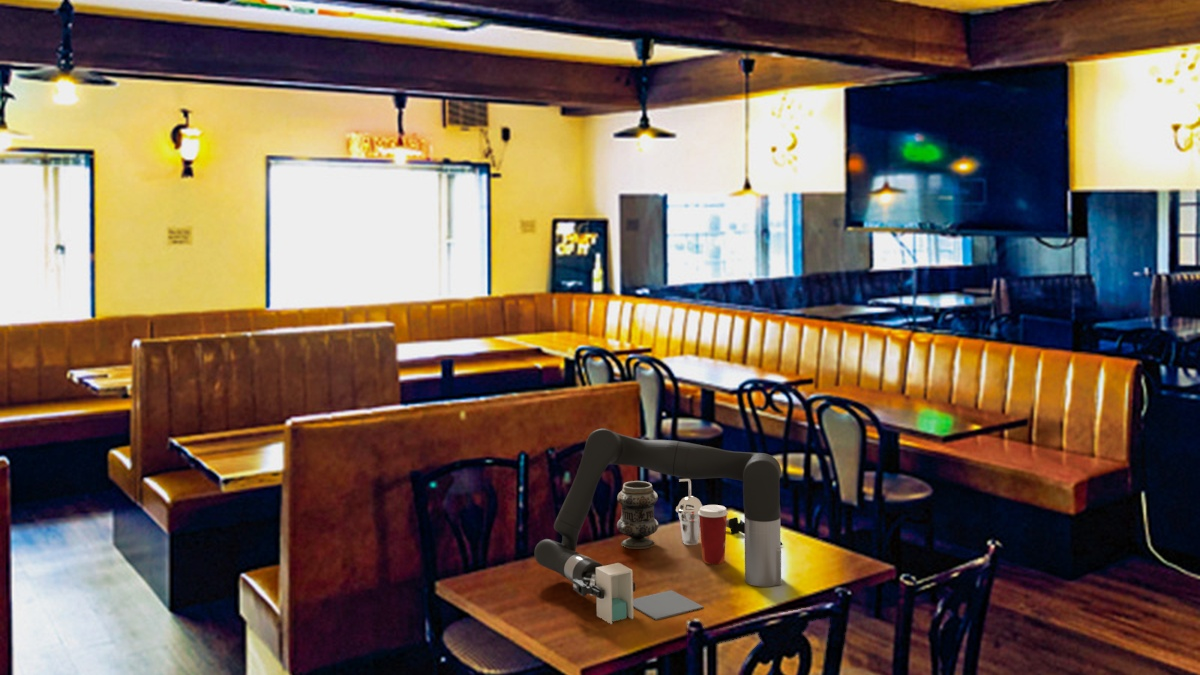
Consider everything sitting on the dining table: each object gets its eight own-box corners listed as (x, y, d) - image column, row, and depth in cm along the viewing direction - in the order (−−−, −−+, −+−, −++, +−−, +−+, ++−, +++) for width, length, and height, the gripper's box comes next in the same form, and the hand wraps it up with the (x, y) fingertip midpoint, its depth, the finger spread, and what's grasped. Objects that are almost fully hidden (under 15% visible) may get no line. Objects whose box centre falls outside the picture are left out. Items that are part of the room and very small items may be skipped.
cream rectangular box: (596, 615, 260) (595, 567, 259) (619, 610, 263) (618, 562, 262) (610, 624, 255) (609, 574, 253) (633, 618, 258) (632, 569, 257)
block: (603, 616, 260) (603, 600, 259) (617, 613, 262) (617, 597, 261) (612, 622, 256) (612, 605, 256) (626, 618, 258) (626, 602, 258)
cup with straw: (710, 545, 313) (709, 477, 311) (681, 549, 310) (680, 480, 308) (697, 537, 321) (696, 471, 319) (669, 540, 318) (668, 474, 316)
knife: (703, 521, 333) (704, 507, 332) (710, 519, 334) (711, 505, 333) (775, 555, 309) (776, 540, 308) (782, 553, 310) (784, 538, 310)
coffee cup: (734, 561, 298) (734, 508, 296) (711, 567, 293) (711, 514, 291) (714, 554, 305) (714, 502, 303) (692, 560, 300) (691, 507, 298)
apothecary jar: (664, 548, 311) (663, 487, 309) (624, 552, 308) (623, 491, 306) (650, 536, 323) (649, 477, 321) (612, 540, 319) (610, 481, 317)
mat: (671, 591, 276) (671, 590, 276) (703, 608, 264) (703, 606, 264) (624, 602, 269) (624, 600, 269) (655, 620, 257) (655, 618, 257)
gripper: (559, 563, 267) (592, 581, 253) (608, 552, 274) (643, 570, 260) (560, 592, 267) (593, 612, 254) (609, 581, 275) (644, 600, 261)
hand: (618, 591), depth 257 cm, fingers open, 8 cm apart
